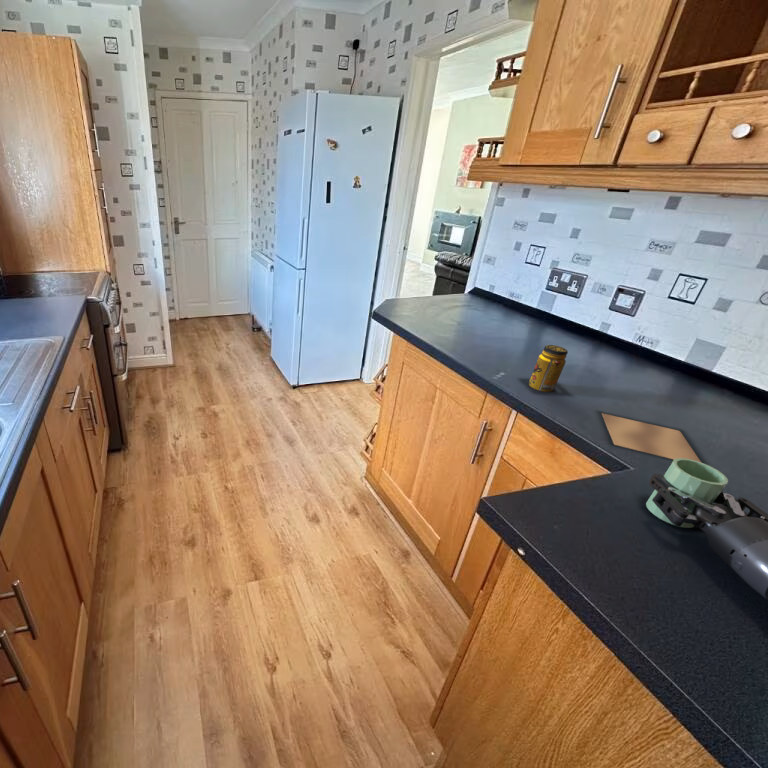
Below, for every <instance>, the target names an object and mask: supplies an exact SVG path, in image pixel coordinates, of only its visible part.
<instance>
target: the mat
mask: <svg viewBox="0 0 768 768" xmlns="http://www.w3.org/2000/svg"><path fill="white" fill-rule="evenodd" d="M601 416H602V418H603V421H604V423H605V425H606V428H607V431H608V433H609V435H610V438H611V441H612V443H613V445H614V446H619V447H622V448H626V449H631V450H634V451H638V452H641V453H642V452H643V453H645V454H646V453H647V454H649V455H650V454H651V455H654V456H658V457H662V458H667V459H670V460H674V459H678V458H685V459H691V460H695V461H698V462H701V463H702V461H701V460H700V458H699V457H698V456H697V454H696V453H695V451H694V449H693V447H691V445H690V443H689V442H688V441H687V439H686V438H685V436H684V435H683V433H682V432H681V431H680V430H678V429H674V428H669V427H664V426H660V425H655V424H651V423H647V422H643V421H638V420H633V419H629V418H625V417H621V416H615V415H612V414H607V413H603V412H602V413H601Z"/></svg>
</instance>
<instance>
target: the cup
mask: <svg viewBox="0 0 768 768" xmlns="http://www.w3.org/2000/svg"><path fill="white" fill-rule="evenodd" d="M662 476H663V477H664V478H665V479H666V480H667V481H668V482H669V483H671V484H672V485H673V486H674V487H675V489H677V490H679V491H680V492H682V493H684V494H686V495H694V496H695V497H697V498H699V499H701V500H703V501H705V502H706V503H711V504H714V503H713V502H714V501H715V499H716V498H717V497H718V495H719V494H720V493H721V491H722V492H723V490H724V489H725V487H726V486H727V485H728V483H729V479H728V478H727V476H726V474H725V473H722V472H721V471H720V470H718V469H717V468H714V467H713V466H711V465H709V464H707V463H703V462H702V461H701V462H698V461H695V460H691V459H685V458H678V459H672V461H671V463H670V465H669V466H668V468H667V470H666V471H665V472H664V474H663V475H662ZM656 494H657V491H656V490H655V489H654V490H653V491H652V493H651V494H650V496H649V497H648V499H647V500H646V503H645V507H646V508H647V509H648V511H649V512H650V513H652V514H653V516H655V517H657V518H658V519H659V520H662V521H664V522H666V523H667V524H670V525H672V526H676V525H674V524H673V523H672V522H671V521H670V520H669V519H668V518H667V517H666V516H665V515H664V513H663V512H662V511H661V510H660V509H659V508H658V507H657V505H656V504H655V503H654V502H653V501H652V499H653V498H654V497H655V495H656ZM674 498H675V499H676V500H677V501H678V502H679V503H680V504H681V502H682V499H680V498H679V497H677V496H675V497H674ZM664 503H665V502H664ZM695 505H696V504H695V503H691V504H690V506H689V507H688V511H689V512H690V513H692V509H693V508H694V507H695ZM676 527H677V526H676ZM678 527H679V528H685V529H691V528H694V527H695V526H694V525H693V524H689V523H683V524H682V525H681V526H678Z"/></svg>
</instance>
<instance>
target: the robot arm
mask: <svg viewBox="0 0 768 768" xmlns="http://www.w3.org/2000/svg"><path fill="white" fill-rule="evenodd" d="M663 476H664V475H662V474H661V473H654V474H652V476H651V478H650V480H649V481H648V483H649V485H650V486H651V487H652V488H653V489H654V490H656V491H657V494H656V495H655V497H654V498H653V499H652V501H653V502H654V503H655V504H656V505H657V507H658V508H659V509H660V510H661V511H662V512H663V513H664V515H665V516H666V517H667V518H668V519H669V520H670V521H671V522H672V523H673V524H674V525H673V526H675V525H676V527H679V526H681V525H682V524H683V523H689V524H693V525H694V527H695V528H697V529H698V530H700V531H701V532H703V533H704V534H705V535H706V538H707V542H708V545H709V547H710V548H711V549H712V550H713V552H715V553H716V554H717V555H718V556H719V557H720V558H721V559H722V560H723V561H724V563H726V564H727V565H728V566H729V567H730V568H731V569H732V570H733V571H734V573H736V574H737V575H738V576H739V577H740V578H741V579H742V580H743V581H744V582H746V584H747V585H748V586H749V587H751V588H752V589H753V590H754V591H756V592H757V593H758V594H759V595H761V596H762V597H763V598H764V599H765V600H766V601H768V513H767V512H766V511H764V510H763V509H762V508H760V507H759V506H757V505H756V504H755V503H753V502H752V501H750V500H749V499H748V498H746V497H743V496H742V497H741V496H739V497H738V498H736V497H734V496H733V495H731V494H730V493H727V492H723V490H722V491H721V493H720V494H719V495H718V497H717V498H716V499H715V501H714V502H713V503H712V504H711V503H706V502H705V501H703V500H701V499H699V498H697V497H695V496H694V495H686V494H684V493H682V492H680V491H679V490H677V489H675V487H674V486H673V485H672V484H671V483H669V482H668V481H667V480H666V479H665V478H664V477H663ZM675 496H677V497H679V498H680V499H682V502H681V504H680V503H679V502H678V501H677V500H676V499H675V498H674V497H675ZM664 502H665V503H664ZM691 503H695V504H696V505H695V507H694V508H693V509H692V513H690V512H689V511H688V507H689V506H690V504H691ZM746 508H747V510H749V512H748V513H747V512H746V511H745V509H746Z"/></svg>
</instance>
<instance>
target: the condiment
mask: <svg viewBox="0 0 768 768" xmlns="http://www.w3.org/2000/svg"><path fill="white" fill-rule="evenodd" d="M567 355H568V350H567V349H566V348H564V347H563V346H559V345H556V344H555V345H554V344H547V345H545V346H544V347H543V350H542V352H541V354H539V355H538V358H537V361H536V363H535V365H534V369H533V370H532V373H531V376H530V378H529V381H528V385H529V387H530V388H532V389H533V390H536V391H539V392H544V393H551V392H553V391H554V390H555V388H556V386H557V384H558V382H559V379H560V377H561V375H562V372H563V369H564V367H565V365H566V361H567V360H566V358H567Z"/></svg>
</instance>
